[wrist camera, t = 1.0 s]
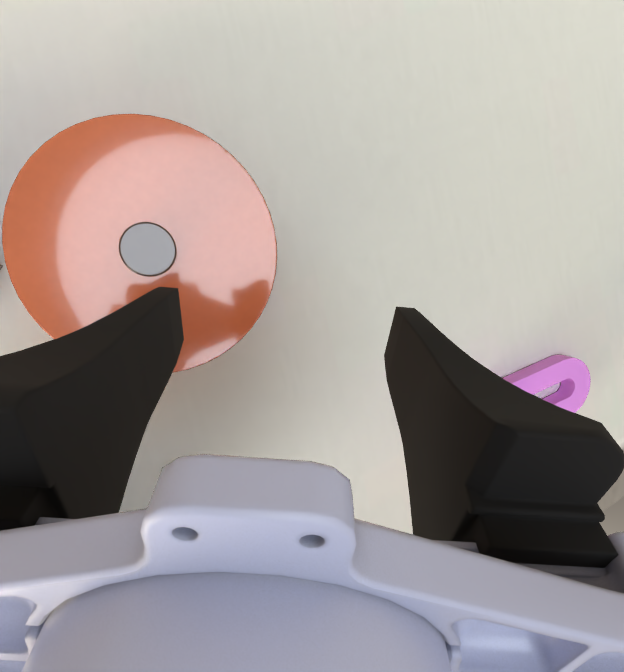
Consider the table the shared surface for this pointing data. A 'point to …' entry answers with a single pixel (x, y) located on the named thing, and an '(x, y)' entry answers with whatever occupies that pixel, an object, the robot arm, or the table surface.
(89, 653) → the robot arm
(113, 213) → the lid
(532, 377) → the bracket
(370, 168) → the table surface
